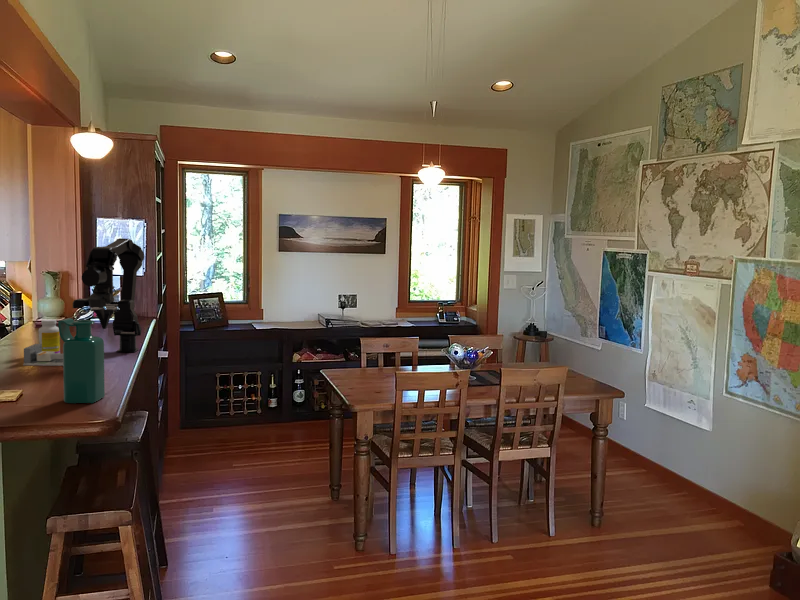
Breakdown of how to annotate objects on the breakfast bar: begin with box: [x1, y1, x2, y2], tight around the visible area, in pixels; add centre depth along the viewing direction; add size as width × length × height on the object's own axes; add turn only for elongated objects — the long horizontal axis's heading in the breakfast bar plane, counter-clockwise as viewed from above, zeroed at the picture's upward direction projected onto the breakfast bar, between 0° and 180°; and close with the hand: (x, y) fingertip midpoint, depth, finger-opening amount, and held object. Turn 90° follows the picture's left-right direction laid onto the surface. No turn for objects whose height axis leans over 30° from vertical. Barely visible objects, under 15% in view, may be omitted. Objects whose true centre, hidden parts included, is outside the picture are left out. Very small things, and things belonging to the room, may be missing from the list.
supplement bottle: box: [38, 319, 61, 353], centre depth 223 cm, size 7×7×13 cm
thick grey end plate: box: [37, 351, 63, 361], centre depth 212 cm, size 8×13×3 cm, turn 98°
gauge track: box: [22, 343, 63, 367], centre depth 212 cm, size 10×14×6 cm
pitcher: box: [57, 317, 106, 404], centre depth 168 cm, size 10×8×22 cm
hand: (104, 328), depth 215 cm, fingers closed
